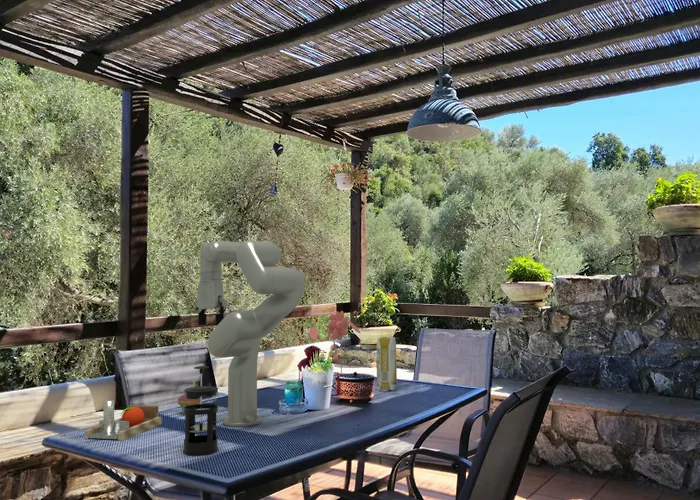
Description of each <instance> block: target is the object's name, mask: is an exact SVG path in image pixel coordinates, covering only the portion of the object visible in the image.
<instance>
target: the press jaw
mask: <svg viewBox="0 0 700 500" xmlns="http://www.w3.org/2000/svg"><path fill="white" fill-rule="evenodd" d="M102 411H103V417H102V418H103V419H102V420H99V421H98V426H99V431H98V432H95V433H92V434H90V439H105V440H118V432H120V431H123V430H125V429H128V428H129V421H114V420H115V400H114V399H106V400H103V410H102Z"/></svg>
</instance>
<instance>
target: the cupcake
mask: <svg viewBox="0 0 700 500" xmlns="http://www.w3.org/2000/svg"><path fill="white" fill-rule="evenodd" d="M195 385H196V380H195V378H194V380H193V381H192V387H196V386H195ZM200 402H201V397H200V398H198V399H188V398H186V393H185V394H183V395H181V396H180V397H178V399H177V405H179V406H180V408H181V411H182V414H183V413H184V407H186V405H195V404H200ZM195 410H199V409H195ZM183 415H185V413H184V414H183Z"/></svg>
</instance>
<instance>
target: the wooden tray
mask: <svg viewBox="0 0 700 500" xmlns="http://www.w3.org/2000/svg"><path fill="white" fill-rule="evenodd" d="M133 406H134V407H139V408H140V409H141V410H142V411H143V412H144V416H145V417H144V421H143V423H141V424H138V425H136V426H133V427H130V428H128V429H125V430H123V431H120V432H118V439H117V441H118V442H123V441H125V440H128V439H130V438H132V437H134V436H138V435H139V434H140V435H141V434H142V433H144V432H147V431H150V430H153V429H154V428H157V427H159V426H161V425H162V419H163V417H162V416H159V405H143V404H142V405H141V404H138V405H137V404H130V405H128V406H127V407H126V408H129V407H133ZM114 421H122V417H119V418H117V419H114ZM149 429H150V430H149ZM98 431H99V425H98V426H93V427H92V428H89V429H86V430H84V438H85V437H87V438H89V437H90V434H92V433H95V432H98Z"/></svg>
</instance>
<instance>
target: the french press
mask: <svg viewBox="0 0 700 500" xmlns="http://www.w3.org/2000/svg"><path fill="white" fill-rule="evenodd" d="M193 369H194V370H199V374H200V386H199V385H198V386H194V387H193V386H192V387H187V388H184V392H185V394H186V398H188V399H198V398H200V397H201V402H200V404H195V405H186V407H184V413H185V414H184V417H185V418H184V419H185V420H184V439H183V450H182V454H184V455H186V456H192V457H202V456H209V455H212V454H216V453H217V452H219V447H218V439H219V438H218V436H217V413H218V411H219V406H218V405H217V404H214V403H202V402H203V396H204V395H211V396H215V397H216V396H217V391H218V390H219V388H218V386H209V385H203V374H204V370H205V369H210V367H209V366H207V365H200V366H199V365H198V366H195V367H193ZM195 409H198V410H195ZM204 415H206V420H207V421H206V423H203V422H202V419H203V418H202V417H203V416H204ZM196 416H199V417H200V419H199V420H200V421H199V424H196ZM205 433H206V434H205ZM196 434H197V435H196ZM198 434H200V435H198Z"/></svg>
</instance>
